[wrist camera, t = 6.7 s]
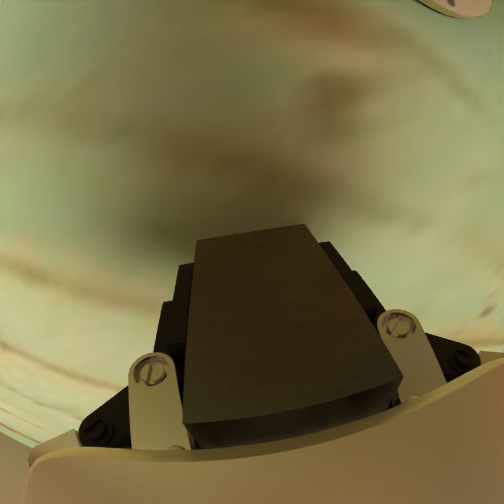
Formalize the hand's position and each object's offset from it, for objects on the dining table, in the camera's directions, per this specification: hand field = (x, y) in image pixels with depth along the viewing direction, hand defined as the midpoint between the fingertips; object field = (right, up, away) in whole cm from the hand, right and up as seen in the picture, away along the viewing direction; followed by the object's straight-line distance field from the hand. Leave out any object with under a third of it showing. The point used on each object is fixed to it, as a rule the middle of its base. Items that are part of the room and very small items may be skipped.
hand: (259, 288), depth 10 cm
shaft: (+1, -8, +6) cm, 10 cm away
